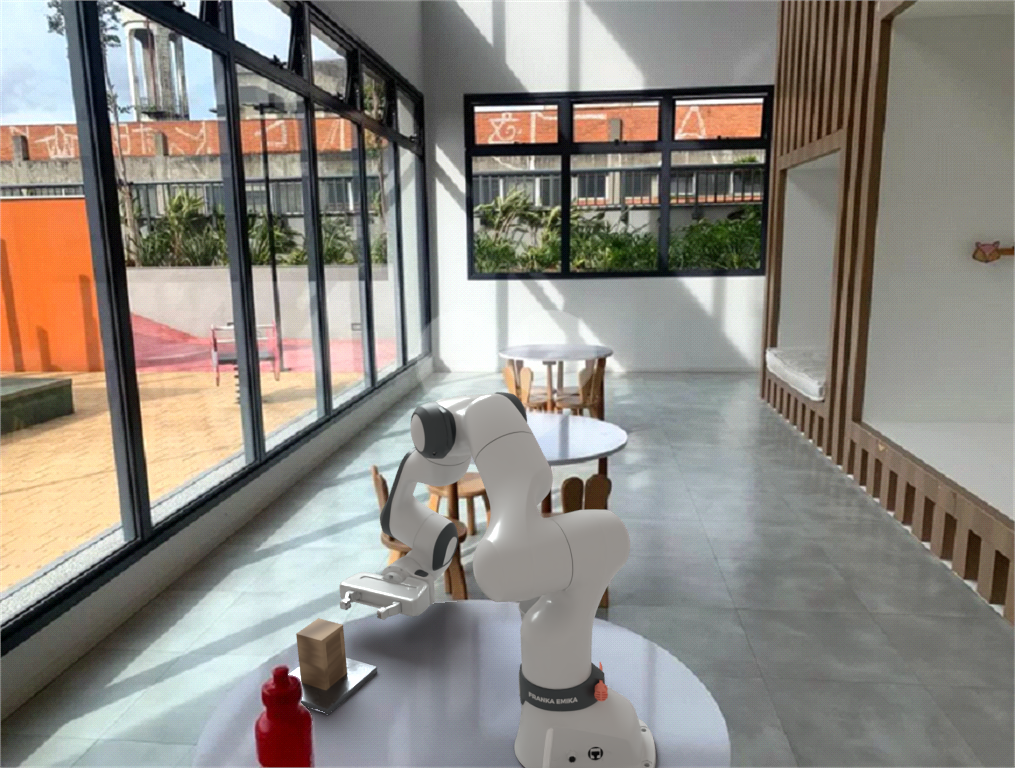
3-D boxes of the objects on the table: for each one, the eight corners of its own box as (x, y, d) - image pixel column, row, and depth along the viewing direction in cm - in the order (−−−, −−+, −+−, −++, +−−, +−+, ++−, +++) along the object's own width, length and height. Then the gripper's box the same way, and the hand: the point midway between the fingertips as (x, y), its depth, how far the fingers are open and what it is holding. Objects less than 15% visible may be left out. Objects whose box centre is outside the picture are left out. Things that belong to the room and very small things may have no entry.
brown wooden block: (347, 672, 136) (343, 624, 134) (326, 690, 131) (321, 640, 129) (322, 665, 138) (318, 618, 137) (301, 682, 133) (296, 633, 131)
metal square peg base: (377, 672, 138) (374, 643, 136) (328, 715, 125) (325, 683, 124) (321, 655, 144) (318, 627, 143) (269, 694, 132) (266, 664, 131)
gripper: (362, 559, 160) (319, 586, 148) (439, 576, 150) (400, 606, 138) (364, 586, 161) (322, 614, 149) (440, 604, 152) (403, 636, 140)
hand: (360, 611), depth 144 cm, fingers open, 8 cm apart
